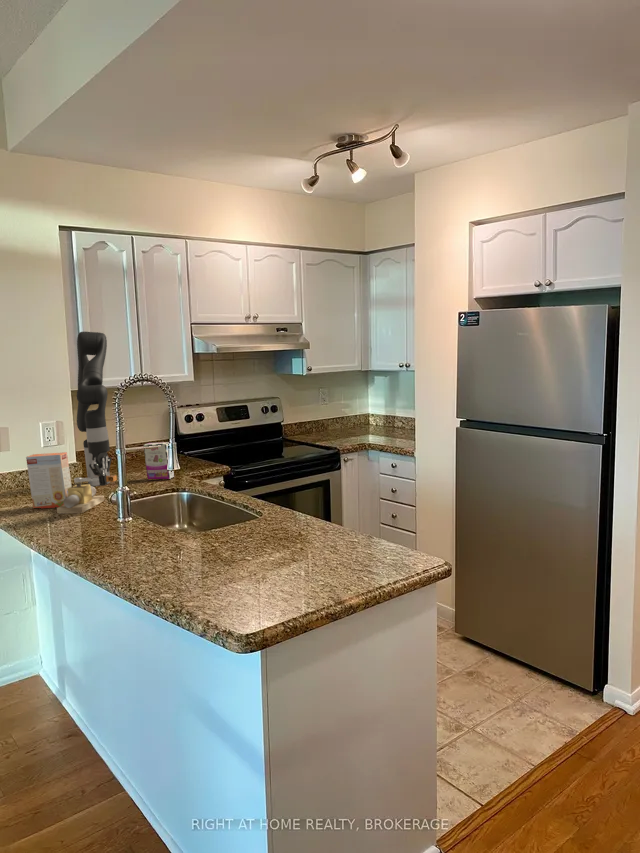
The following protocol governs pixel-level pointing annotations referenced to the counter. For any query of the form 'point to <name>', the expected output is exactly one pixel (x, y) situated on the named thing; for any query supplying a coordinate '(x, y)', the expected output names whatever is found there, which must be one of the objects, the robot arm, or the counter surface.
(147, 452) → the candy bar box
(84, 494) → the valve on pipe
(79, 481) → the valve lever
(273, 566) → the counter surface
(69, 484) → the cracker box
